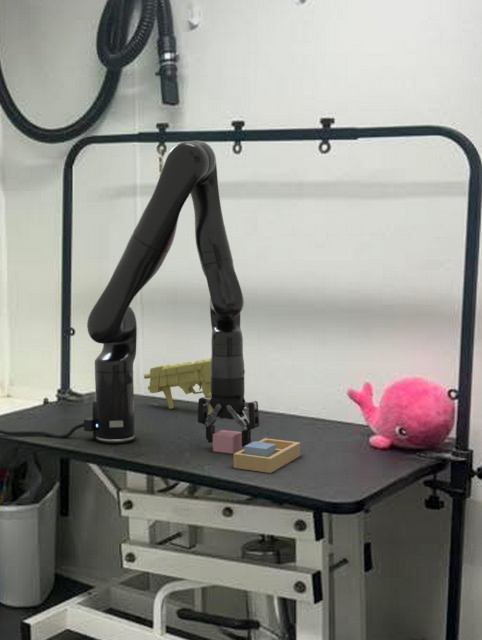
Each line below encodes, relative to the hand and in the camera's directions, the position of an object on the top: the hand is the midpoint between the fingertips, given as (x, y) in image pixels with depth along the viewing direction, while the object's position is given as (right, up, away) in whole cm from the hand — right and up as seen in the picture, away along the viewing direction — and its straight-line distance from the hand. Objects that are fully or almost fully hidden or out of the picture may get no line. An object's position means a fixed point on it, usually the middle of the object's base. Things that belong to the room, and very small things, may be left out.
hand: (228, 444), depth 214 cm
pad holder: (+7, -3, -10) cm, 13 cm away
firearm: (-3, +6, +44) cm, 45 cm away
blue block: (+4, -3, -13) cm, 14 cm away
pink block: (0, -1, +1) cm, 2 cm away
